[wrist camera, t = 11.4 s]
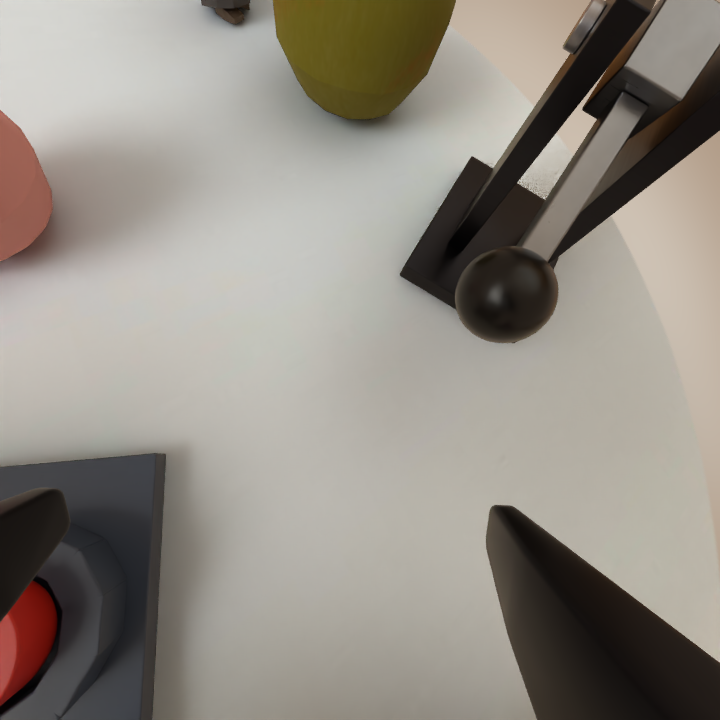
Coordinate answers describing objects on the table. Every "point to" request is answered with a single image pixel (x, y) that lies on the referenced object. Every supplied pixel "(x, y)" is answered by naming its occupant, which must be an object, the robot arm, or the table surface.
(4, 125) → the pink vase
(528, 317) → the lever
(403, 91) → the apple
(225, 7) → the wizard figurine
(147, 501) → the control block
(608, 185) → the bracket
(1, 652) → the button
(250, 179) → the table surface
